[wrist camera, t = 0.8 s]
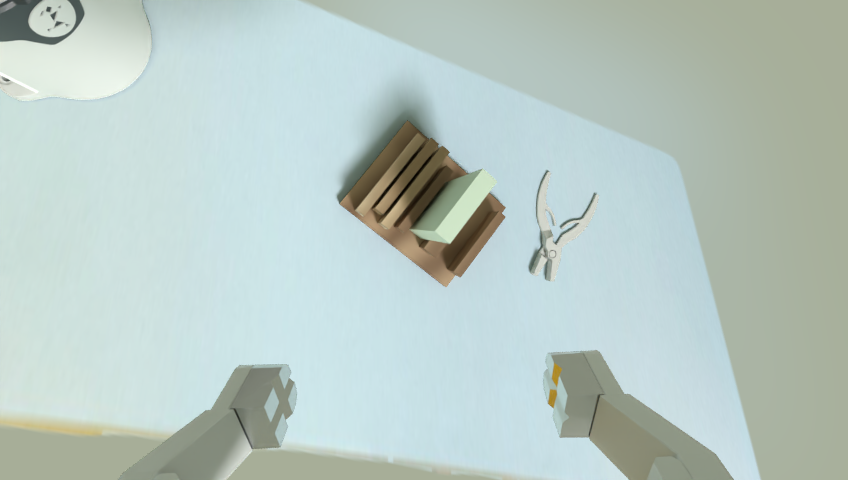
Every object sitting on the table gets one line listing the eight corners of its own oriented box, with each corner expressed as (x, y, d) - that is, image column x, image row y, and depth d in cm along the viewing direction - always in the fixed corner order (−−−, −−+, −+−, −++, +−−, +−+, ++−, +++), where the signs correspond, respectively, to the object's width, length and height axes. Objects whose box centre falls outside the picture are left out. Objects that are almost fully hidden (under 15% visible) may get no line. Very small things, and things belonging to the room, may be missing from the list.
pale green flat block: (408, 229, 48) (434, 231, 36) (445, 182, 49) (482, 168, 37) (420, 238, 49) (450, 243, 36) (456, 192, 50) (497, 181, 37)
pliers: (604, 195, 55) (571, 289, 54) (597, 196, 57) (564, 287, 56) (550, 170, 53) (515, 267, 52) (544, 171, 54) (510, 266, 54)
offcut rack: (339, 204, 47) (340, 201, 42) (405, 122, 49) (414, 109, 43) (443, 285, 51) (456, 293, 45) (501, 207, 53) (521, 206, 47)
